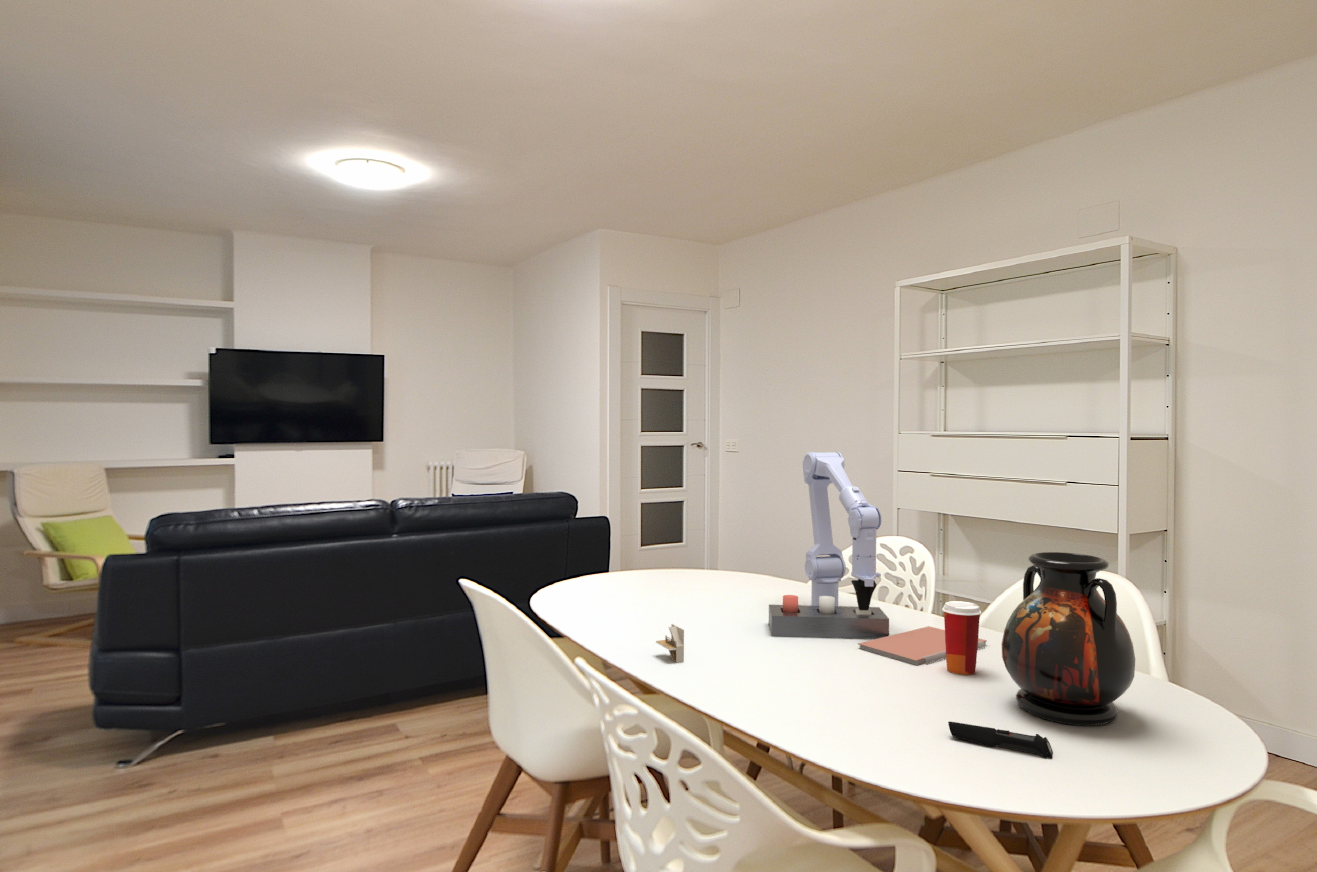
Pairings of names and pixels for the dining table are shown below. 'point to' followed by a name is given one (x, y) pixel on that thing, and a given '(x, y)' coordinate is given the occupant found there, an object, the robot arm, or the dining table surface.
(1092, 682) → the amphora vase
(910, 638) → the notebook
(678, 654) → the architectural model
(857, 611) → the plug
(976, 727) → the electric trimmer
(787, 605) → the red plug
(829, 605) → the plug
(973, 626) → the paper cup
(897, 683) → the dining table surface
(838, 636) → the block
